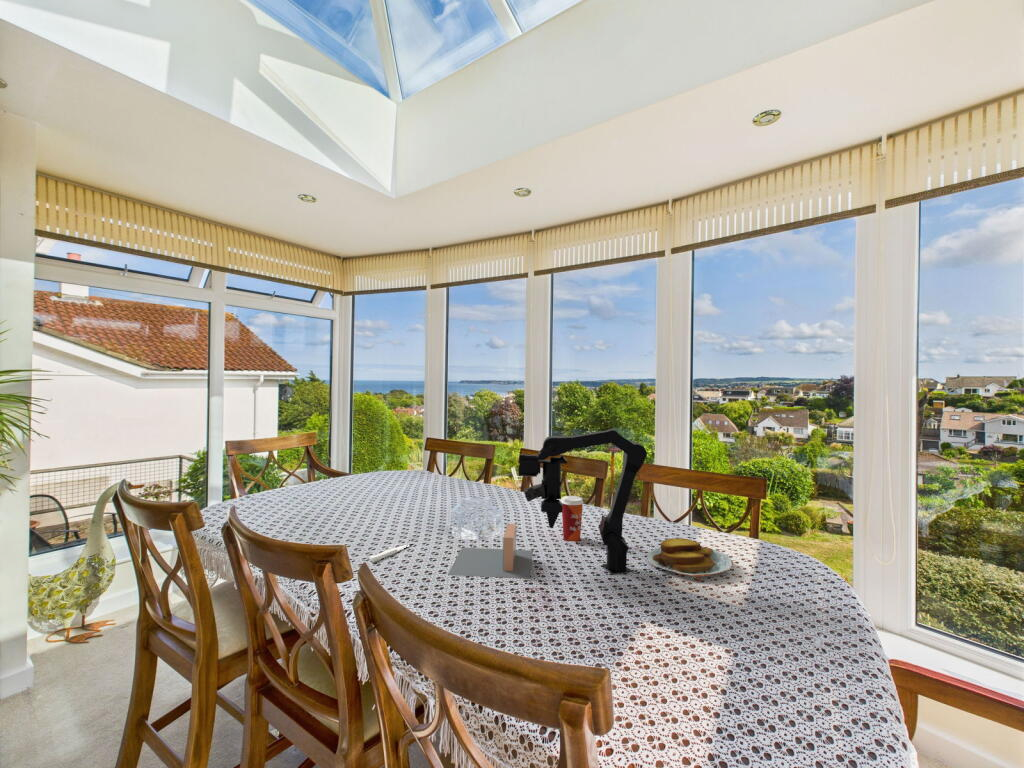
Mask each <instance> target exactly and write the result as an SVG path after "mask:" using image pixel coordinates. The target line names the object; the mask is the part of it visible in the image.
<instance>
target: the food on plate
mask: <svg viewBox="0 0 1024 768" xmlns="http://www.w3.org/2000/svg"><path fill="white" fill-rule="evenodd" d="M645 556H646V557H647V562H648V563H650V564H651V565H652V566H654V567H657V568H660V569H662V570H666V571H670V572H674V573H677V574H679V575H683V576H684V575H685V576H688V577H690V578H691V577H692V578H693V577H697V579H696V581H697V582H701V578H702V577H707V576H715V575H716V574H719V573H720V574H721V573H724V572H726V574H729V571H728V570H730V569H731V568H732V567H733V566H734V562H733V560H732V558H730V557H729V555H728V554H725V553H723V552H720V551H718V550H717V549H713V548H710V547H705V546H701V543H699V542H698V541H695V540H691V539H688V538H678V537H674V538H667V539H664V540H662V541H661V543H660V546H657V547H654V548H652V549H651V550H650V551H648V553H647V554H646V555H645ZM665 567H667V568H665Z"/></svg>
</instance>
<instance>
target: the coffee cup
mask: <svg viewBox="0 0 1024 768" xmlns="http://www.w3.org/2000/svg"><path fill="white" fill-rule="evenodd" d="M560 501H561V502H562V512H561V514H562V515H561V516H562V517H561V518H562V535H563V541H564V542H575V543H578V542H580V541H581V534H582V532H581V531H582V522H583V521H582V519H583V505H584V503H585V502H584V501H583V497H581V496H577V495H566V496H562V497H561V499H560Z"/></svg>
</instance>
